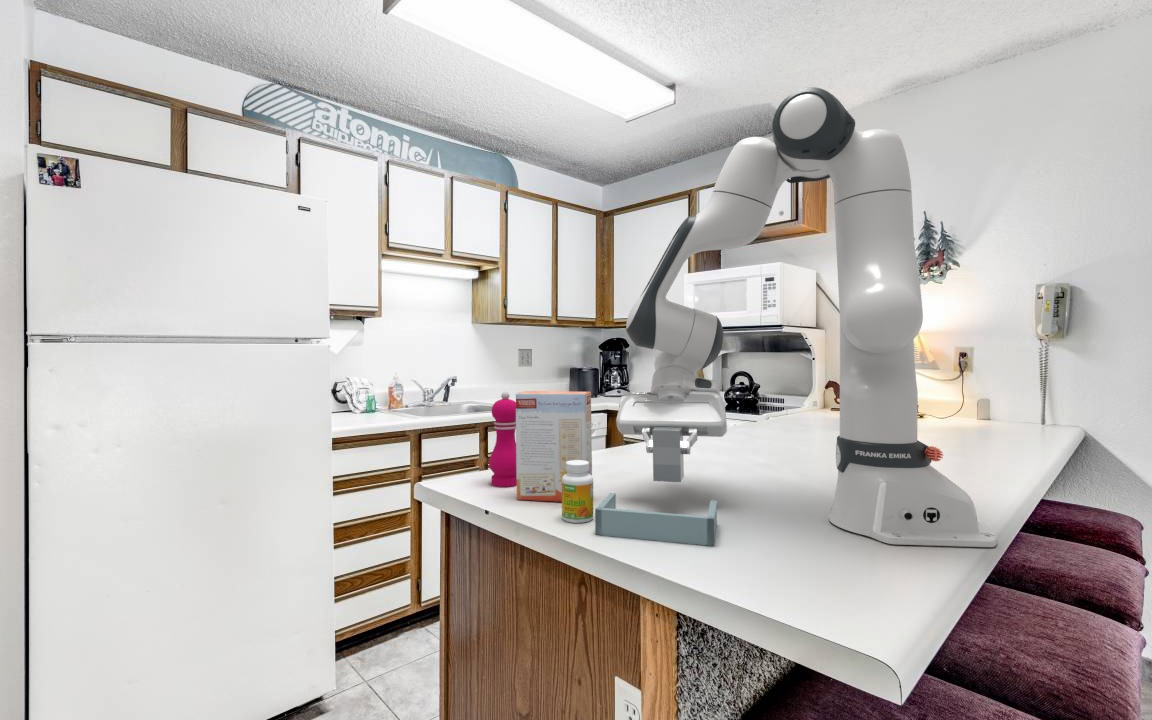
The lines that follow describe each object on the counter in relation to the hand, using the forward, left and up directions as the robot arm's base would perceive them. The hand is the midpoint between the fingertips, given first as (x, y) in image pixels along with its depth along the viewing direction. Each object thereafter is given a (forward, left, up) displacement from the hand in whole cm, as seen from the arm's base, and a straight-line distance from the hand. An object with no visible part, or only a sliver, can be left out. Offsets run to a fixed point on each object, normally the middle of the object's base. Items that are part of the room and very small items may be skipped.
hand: (667, 451), depth 96 cm
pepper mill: (+36, -11, -11) cm, 39 cm away
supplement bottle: (+14, +8, -11) cm, 20 cm away
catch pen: (0, +10, -11) cm, 15 cm away
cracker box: (+22, -3, -11) cm, 25 cm away
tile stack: (0, -1, -5) cm, 5 cm away
